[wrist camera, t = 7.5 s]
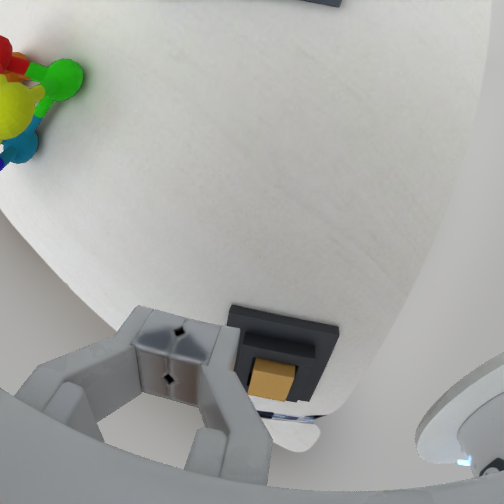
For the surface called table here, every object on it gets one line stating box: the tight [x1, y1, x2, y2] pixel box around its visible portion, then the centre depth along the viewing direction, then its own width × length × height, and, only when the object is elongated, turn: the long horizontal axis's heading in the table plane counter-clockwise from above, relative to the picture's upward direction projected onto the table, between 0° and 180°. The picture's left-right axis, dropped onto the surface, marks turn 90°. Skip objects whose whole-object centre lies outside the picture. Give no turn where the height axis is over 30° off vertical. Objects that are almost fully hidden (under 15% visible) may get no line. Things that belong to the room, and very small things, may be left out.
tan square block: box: [247, 358, 295, 402], centre depth 27 cm, size 4×4×2 cm
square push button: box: [227, 305, 339, 402], centre depth 29 cm, size 10×10×3 cm
